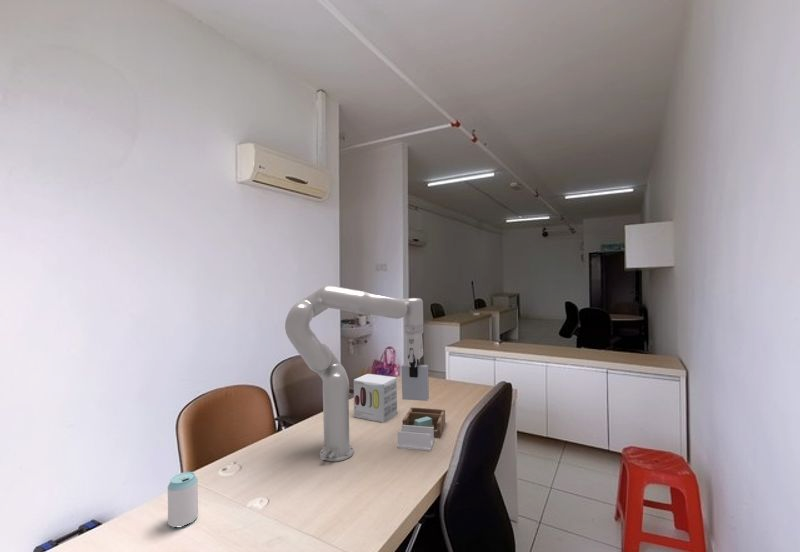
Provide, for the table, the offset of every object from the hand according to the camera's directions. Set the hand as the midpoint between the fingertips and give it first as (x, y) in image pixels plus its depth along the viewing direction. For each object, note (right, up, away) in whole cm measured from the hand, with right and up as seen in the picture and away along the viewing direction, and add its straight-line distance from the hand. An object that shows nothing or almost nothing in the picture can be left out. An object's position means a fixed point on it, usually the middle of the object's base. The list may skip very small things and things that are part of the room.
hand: (414, 375), depth 143 cm
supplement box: (-18, -28, +31) cm, 46 cm away
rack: (+5, -27, +14) cm, 31 cm away
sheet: (0, -9, 0) cm, 9 cm away
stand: (+1, -27, 0) cm, 27 cm away
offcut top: (+4, -25, +10) cm, 27 cm away
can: (-65, -28, -44) cm, 84 cm away
